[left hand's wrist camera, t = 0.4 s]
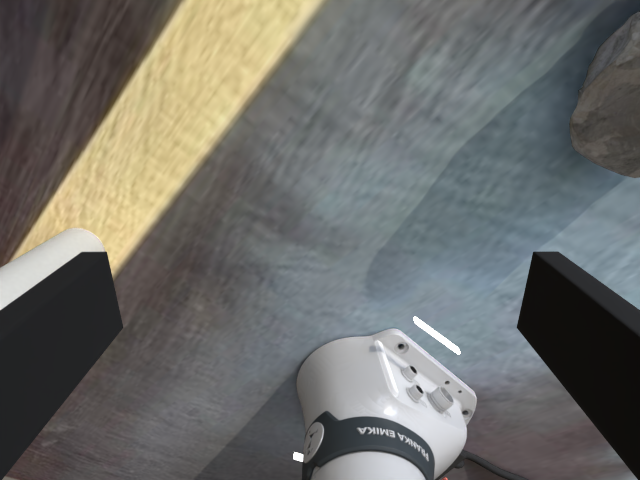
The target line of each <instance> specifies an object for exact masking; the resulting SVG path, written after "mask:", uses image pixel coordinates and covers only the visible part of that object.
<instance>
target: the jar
mask: <svg viewBox="0 0 640 480" xmlns="http://www.w3.org/2000/svg"><path fill="white" fill-rule="evenodd" d="M81 252H105V248H104V246H103V244H102V242H101V241H100V239H99V238H98V237H97V236H96V235H94V234H93V233H91V232H90V231H87V230H85V229H81V228H70V229H66V230H64V231H63V232H61V233H59V234H57V235H56V236H54V237H52V238H51V239H49V240H47V241H45V242H44V243H42V244H40V245H39V246H37V247H35V248H34V249H32V250H30V251H28V252H27V253H25V254H23V255H22V256H20V257H18V258H16V259H15V260H13V261H11V262H10V263H8V264H6V265H4V266H3V267H1V268H0V310H1V309H3V308H4V307H5V306H7V305H8V304H10V303H11V302H12V301H14V300H15V299H17V298H18V297H19V296H21V295H22V294H24V293H25V292H26V291H28V290H29V289H31V288H32V287H33V286H35V285H36V284H38V283H39V282H40V281H42V280H43V279H44V278H46V277H47V276H49V275H50V274H51V273H53V272H54V271H56V270H57V269H58V268H60V267H61V266H63V265H64V264H65V263H67V262H68V261H70V260H71V259H72V258H74V257H75V256H77V255H78V254H79V253H81Z"/></svg>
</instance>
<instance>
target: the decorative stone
mask: <svg viewBox="0 0 640 480" xmlns="http://www.w3.org/2000/svg"><path fill="white" fill-rule="evenodd" d="M569 125H570V135H571V142H572V146H573V148H574V149H575V150H576V151H577V152H578V153H580V154H581V155H582V156H584V157H585V158H587V159H589V160H590V161H592V162H593V163H595V164H597V165H600V166H602V167H604V168H606V169H609V170H611V171H613V172H616V173H618V174H621V175H624V176H629V177H633V178H638V177H640V12H637V13H635V14H633V15H632V16H630V17H629V18H628V20H627V21H626V22H625V24H624V25H623V26H622V27H620V28H619V29H618V30H617V31H615V32H614V33H613V34H612V35H611V36H610V37H608V38H607V39H606V40H605V41H604V43H603V44H602V45H601V46H600V47H599V48H598V50H597V52H596V55H595V57H594V60H593V61H592V63H591V64H590V65H589V68H588V72H587V76H586V79H585V81H584V83H583V86H582V88H581V89H580V90H579V91H578V103H577V107H576V109H575V110H574V112H573V114H572V116H571V118H570V123H569Z"/></svg>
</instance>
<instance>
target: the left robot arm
mask: <svg viewBox="0 0 640 480" xmlns="http://www.w3.org/2000/svg"><path fill="white" fill-rule="evenodd" d="M122 328H123V324H122V320H121V315H120V311H119V306H118V301H117V297H116V292H115V288H114V283H113V278H112V274H111V269H110V265H109V260H108V255H107V252H81V253H79V254H78V255H77V256H75V257H74V258H72V259H71V260H70V261H68V262H67V263H65V264H64V265H63V266H61V267H60V268H58V269H57V270H56V271H54V272H53V273H51V274H50V275H49V276H47V277H46V278H44V279H43V280H42V281H40V282H39V283H38V284H36V285H35V286H33V287H32V288H31V289H29V290H28V291H26V292H25V293H24V294H22V295H21V296H19V297H18V298H17V299H15V300H14V301H12V302H11V303H10V304H8V305H7V306H5V307H4V308H3V309H1V310H0V480H2V479H3V478H4V476H5V475H6V474H7V473H8V471H9V470H10V469H11V468H12V466H13V465H14V464H15V463H16V461H17V460H18V459H19V458H20V456H21V455H22V454H23V453H24V451H25V450H26V449H27V448H28V446H29V445H30V444H31V443H32V441H33V440H34V439H35V438H36V436H37V435H38V434H39V433H40V431H41V430H42V429H43V427H44V426H45V425H46V424H47V422H48V421H49V420H50V419H51V417H52V416H53V415H54V414H55V412H56V411H57V410H58V409H59V407H60V406H61V405H62V404H63V402H64V401H65V400H66V399H67V397H68V396H69V395H70V394H71V392H72V391H73V390H74V389H75V387H76V386H77V385H78V384H79V382H80V381H81V380H82V379H83V377H84V376H85V375H86V374H87V372H88V371H89V370H90V369H91V367H92V366H93V365H94V364H95V362H96V361H97V360H98V359H99V357H100V356H101V355H102V354H103V352H104V351H105V350H106V349H107V347H108V346H109V345H110V343H111V342H112V341H113V340H114V338H115V337H116V336H117V335H118V333H119V332H120V331H121V330H122ZM517 328H518V330H519V331H520V332H521V333H522V335H523V336H524V337H525V338H526V340H527V341H528V342H529V343H530V345H531V346H532V347H533V349H534V350H535V351H536V352H537V354H538V355H539V356H540V357H541V359H542V360H543V361H544V362H545V364H546V365H547V366H548V367H549V369H550V370H551V371H552V372H553V374H554V375H555V376H556V377H557V379H558V380H559V381H560V382H561V384H562V385H563V386H564V387H565V389H566V390H567V391H568V392H569V394H570V395H571V396H572V397H573V399H574V400H575V401H576V402H577V404H578V405H579V406H580V407H581V409H582V410H583V411H584V412H585V414H586V415H587V416H588V417H589V419H590V420H591V421H592V422H593V424H594V425H595V426H596V427H597V429H598V430H599V431H600V433H601V434H602V435H603V436H604V438H605V439H606V440H607V441H608V443H609V444H610V445H611V446H612V448H613V449H614V450H615V451H616V453H617V454H618V455H619V456H620V458H621V459H622V460H623V461H624V463H625V464H626V465H627V466H628V468H629V469H630V470H631V471H632V473H633V474H634V475H635V476H636V478H637V479H638V480H640V310H639V309H637V308H636V307H635V306H633V305H632V304H630V303H629V302H628V301H626V300H625V299H623V298H622V297H621V296H619V295H618V294H616V293H615V292H614V291H612V290H611V289H609V288H608V287H607V286H605V285H604V284H602V283H601V282H600V281H598V280H597V279H595V278H594V277H593V276H591V275H590V274H589V273H587V272H586V271H584V270H583V269H582V268H580V267H579V266H577V265H576V264H575V263H573V262H572V261H570V260H569V259H568V258H566V257H565V256H563V255H562V254H561V253H559V252H533V255H532V260H531V265H530V269H529V274H528V278H527V283H526V288H525V292H524V297H523V301H522V306H521V311H520V315H519V320H518V324H517Z"/></svg>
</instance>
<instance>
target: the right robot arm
mask: <svg viewBox="0 0 640 480" xmlns="http://www.w3.org/2000/svg"><path fill="white" fill-rule="evenodd" d="M413 319H414V322H415V324H417V325H418V326H420V327H421V328H422V329H424V330H425V331H427V332H428V333H429V334H431V335H432V336H433V337H435V338H436V339H438V340H439V341H440V342H442V343H443V344H445V345H446V346H447V347H449V348H450V349H451V350H453V351H454V352H456V353H457V354H458V355H459V354H460V351H459V349H458V347H456V346H455V345H454V344H452V343H451V342H450V341H448V340H447V339H445V338H444V337H443V336H441V335H440V334H439V333H437V332H436V331H434V330H433V329H432V328H430V327H429V326H428V325H426V324H425V323H423V322H422V321H421V320H419V319H418V318H417V317H414V318H413ZM399 344H403V345H402V346H398V345H399ZM296 385H297V393H298V397H299V400H300V403H301V406H302V410H303V415H304V422H305V430H306V435H305V441H304V449H303V454H299V453H296V452H295V453H294V459H295V460H298V461H302V462H303V467H302V480H439V479H440V478H441V477H442V476H444V475H445V474H446V473H448V472H449V471H450V470H451V469H453V468H462V467H463V466H464V459H465V458H466V459H469V460H471V461H473V462H475V463H477V464H479V465H480V466H482V467H484V468H485V469H487V470H489V471H491V472H492V473H494V474H496V475H498V476H501V477H503V478H505V479H508V480H528V479H525V478H523V477H521V476H518V475H515V474H512V473H510V472H507V471H505V470H502V469H500V468H498V467H496V466H494V465H492V464H490V463H489V462H487V461H485V460H484V459H482V458H480V457H478V456H476V455H474V454H471V453H469V452H467V451H463V447H464V445H465V442H466V438H467V428H466V425H467V424H468V422H469V421H470V419H471V417H472V415H473V413H474V410H475V407H476V402H477V398H476V395H475V392H474V391H473V390H472V389H471V388H470V387H468V386H467V385H466V384H465V383H464V382H462V381H461V380H460V379H459V378H457V377H456V376H455V375H454V374H453V373H451V372H450V371H449V370H448V369H447V368H445V367H444V366H443V365H442V364H441V363H439V362H438V361H437V360H436V359H434V358H433V357H432V356H431V355H430V354H428V353H427V352H426V351H425V350H424V349H422V348H421V347H420V346H419V345H417V344H416V343H415V342H414V341H413V340H411V339H410V338H409V337H408V336H407V335H405V334H404V333H403V332H402V331H400V330H398V329H387V330H384V331H381V332H379V333H376V334H374V335H371V336H364V337H348V338H342V339H338V340H335V341H332V342H329V343H327V344H325V345H323V346H321V347H320V348H318V349H317V350H315V351H314V352H313V353H312V354H311V355H310V356H309V357H308V358H307V359H306V360H305V361H304V363H303V364H302V366H301V368H300V370H299V373H298V377H297V384H296ZM442 480H447V478H446V477H445V478H443V479H442Z"/></svg>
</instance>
